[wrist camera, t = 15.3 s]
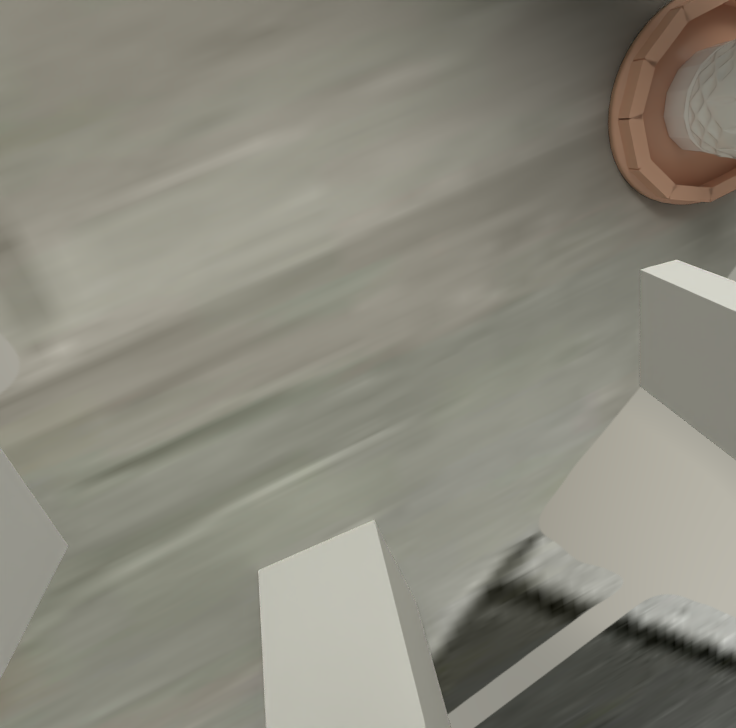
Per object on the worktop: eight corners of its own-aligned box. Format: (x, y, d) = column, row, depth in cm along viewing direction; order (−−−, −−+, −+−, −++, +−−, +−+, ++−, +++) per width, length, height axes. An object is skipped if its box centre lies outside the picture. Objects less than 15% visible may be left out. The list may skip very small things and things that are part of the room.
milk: (258, 570, 47) (250, 998, 24) (374, 519, 47) (480, 897, 24) (311, 647, 52) (348, 1061, 29) (416, 602, 52) (537, 978, 29)
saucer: (641, -33, 33) (662, -42, 31) (819, -1, 36) (848, -8, 34) (586, 196, 39) (602, 199, 37) (745, 209, 41) (766, 212, 40)
